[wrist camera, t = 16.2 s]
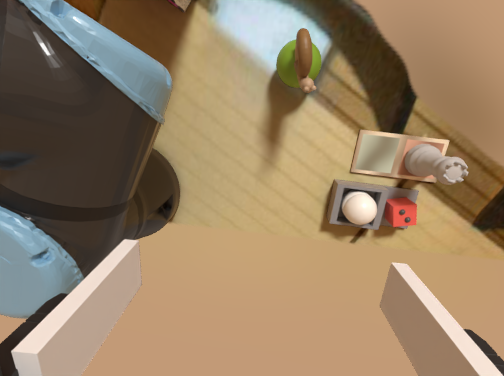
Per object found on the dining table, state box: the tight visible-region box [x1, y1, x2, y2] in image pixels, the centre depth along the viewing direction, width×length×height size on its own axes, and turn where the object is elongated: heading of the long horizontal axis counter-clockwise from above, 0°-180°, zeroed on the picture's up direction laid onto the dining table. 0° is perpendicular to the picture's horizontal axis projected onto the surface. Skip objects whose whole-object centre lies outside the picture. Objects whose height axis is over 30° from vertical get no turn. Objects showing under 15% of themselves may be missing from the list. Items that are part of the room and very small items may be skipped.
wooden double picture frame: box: [351, 130, 449, 183], centre depth 38 cm, size 12×6×1 cm, turn 83°
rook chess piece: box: [405, 144, 469, 185], centre depth 34 cm, size 4×4×8 cm
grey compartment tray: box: [327, 179, 419, 230], centre depth 39 cm, size 12×6×4 cm, turn 83°
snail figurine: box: [276, 28, 321, 93], centre depth 30 cm, size 5×6×12 cm
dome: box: [340, 189, 377, 225], centre depth 38 cm, size 4×4×4 cm
